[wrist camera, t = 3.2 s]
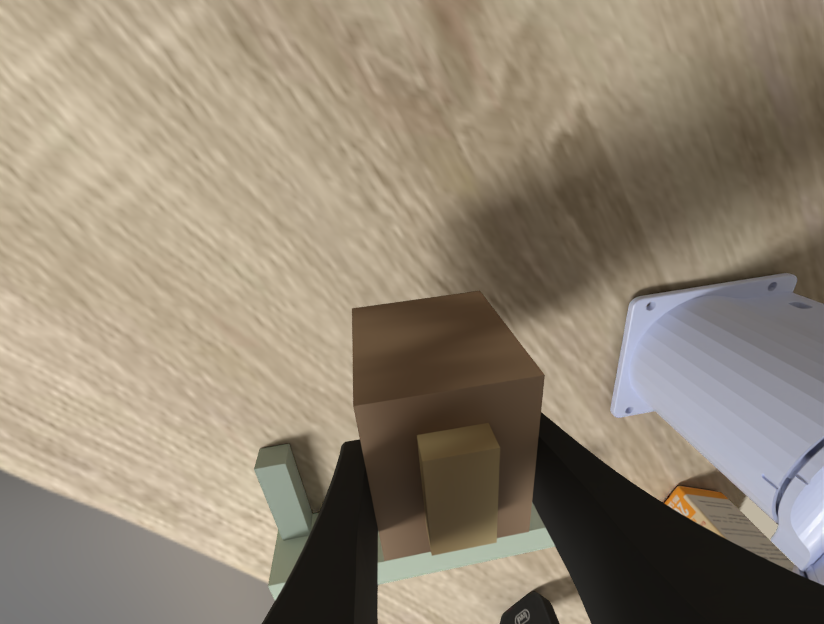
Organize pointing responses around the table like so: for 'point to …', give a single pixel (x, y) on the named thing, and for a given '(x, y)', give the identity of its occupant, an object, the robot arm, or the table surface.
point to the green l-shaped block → (298, 521)
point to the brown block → (445, 423)
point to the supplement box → (725, 521)
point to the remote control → (530, 611)
